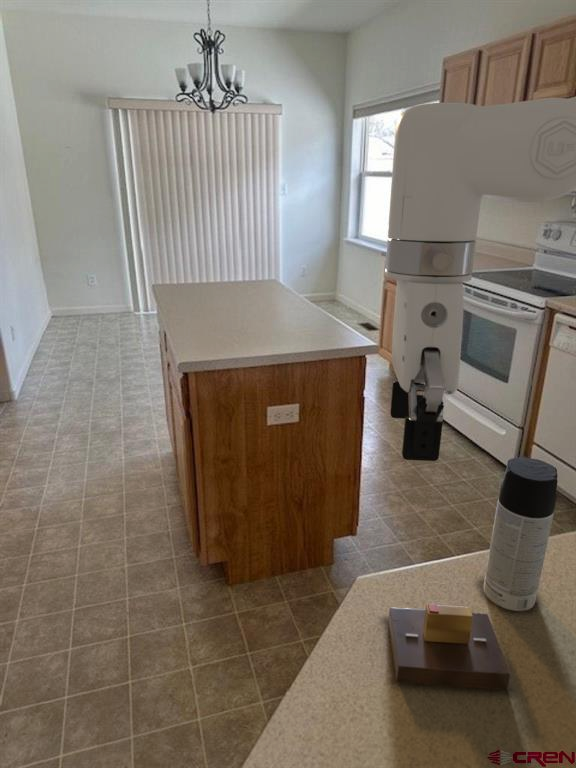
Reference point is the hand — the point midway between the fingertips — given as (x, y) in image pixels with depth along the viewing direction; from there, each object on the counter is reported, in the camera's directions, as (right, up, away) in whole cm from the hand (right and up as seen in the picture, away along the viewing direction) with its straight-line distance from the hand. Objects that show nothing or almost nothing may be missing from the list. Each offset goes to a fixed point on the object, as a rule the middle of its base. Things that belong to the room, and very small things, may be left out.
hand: (411, 436), depth 53 cm
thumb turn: (+6, -24, +9) cm, 27 cm away
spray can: (+18, -24, +20) cm, 36 cm away
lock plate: (+6, -27, +10) cm, 30 cm away
